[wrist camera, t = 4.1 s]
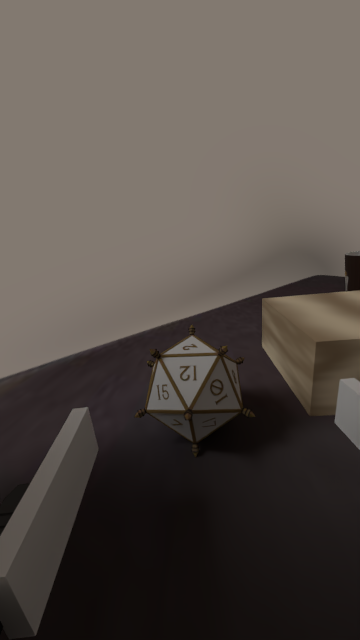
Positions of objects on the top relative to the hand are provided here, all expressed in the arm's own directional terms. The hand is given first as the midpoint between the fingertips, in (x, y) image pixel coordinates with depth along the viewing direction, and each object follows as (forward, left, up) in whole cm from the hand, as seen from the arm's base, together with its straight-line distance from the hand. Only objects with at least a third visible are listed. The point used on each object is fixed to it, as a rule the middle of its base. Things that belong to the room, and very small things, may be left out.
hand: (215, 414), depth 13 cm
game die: (-1, +6, -6) cm, 9 cm away
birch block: (+16, +12, -6) cm, 21 cm away
